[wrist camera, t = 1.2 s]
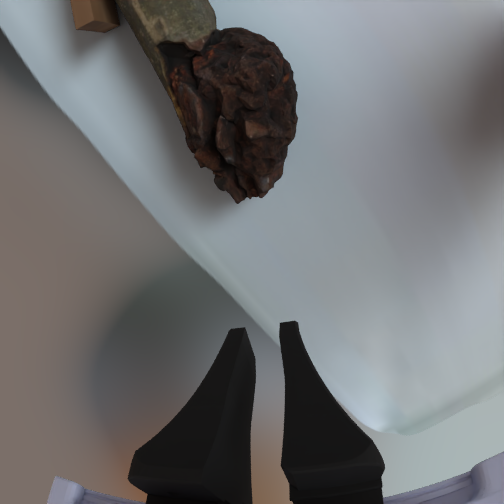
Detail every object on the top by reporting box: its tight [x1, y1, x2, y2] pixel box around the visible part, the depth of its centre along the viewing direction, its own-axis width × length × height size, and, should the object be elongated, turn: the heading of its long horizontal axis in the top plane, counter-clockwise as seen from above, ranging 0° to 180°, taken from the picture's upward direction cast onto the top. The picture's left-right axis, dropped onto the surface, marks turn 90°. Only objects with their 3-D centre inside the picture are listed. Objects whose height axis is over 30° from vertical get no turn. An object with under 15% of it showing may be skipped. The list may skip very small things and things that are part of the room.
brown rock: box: [115, 0, 298, 204], centre depth 14 cm, size 18×7×6 cm, turn 25°
